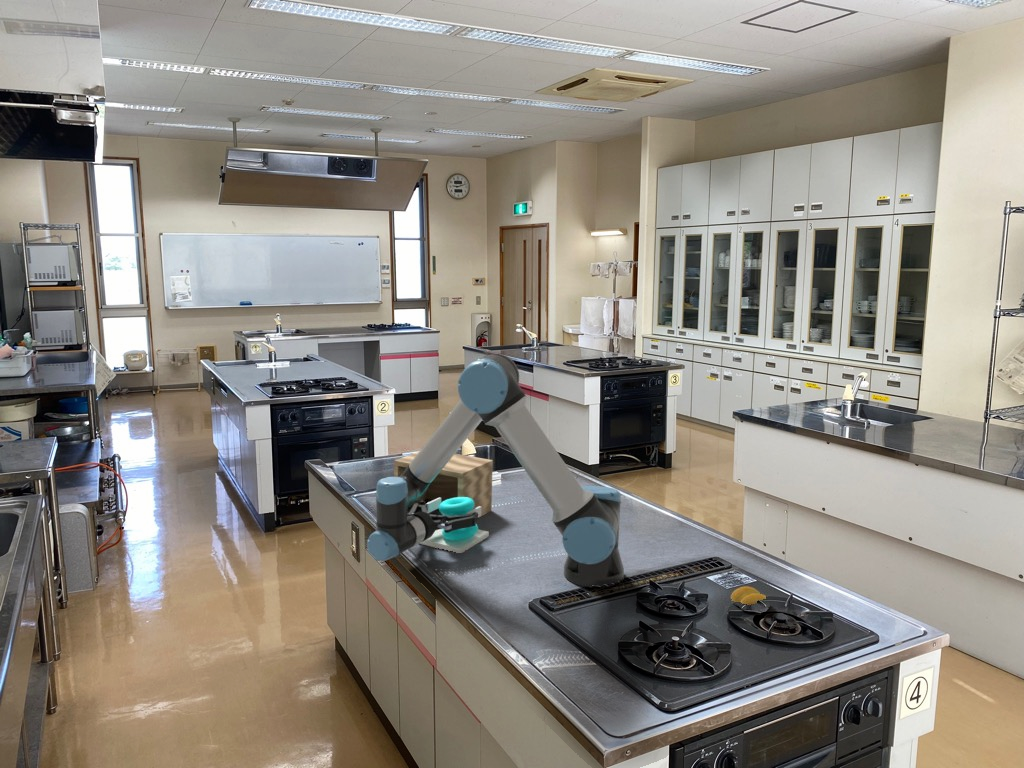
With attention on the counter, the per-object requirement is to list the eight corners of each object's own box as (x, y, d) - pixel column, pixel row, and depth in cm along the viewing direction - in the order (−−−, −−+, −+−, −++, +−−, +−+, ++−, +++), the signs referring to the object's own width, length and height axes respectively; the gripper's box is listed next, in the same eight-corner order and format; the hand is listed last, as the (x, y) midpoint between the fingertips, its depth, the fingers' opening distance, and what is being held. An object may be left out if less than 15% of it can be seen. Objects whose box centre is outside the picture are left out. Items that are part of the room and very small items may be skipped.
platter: (460, 554, 199) (460, 548, 199) (417, 543, 206) (417, 538, 206) (488, 536, 212) (488, 531, 212) (447, 527, 219) (447, 522, 219)
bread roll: (749, 617, 169) (751, 601, 168) (725, 600, 177) (726, 584, 176) (778, 612, 171) (780, 596, 171) (753, 595, 180) (754, 580, 179)
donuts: (479, 495, 208) (463, 506, 199) (484, 529, 209) (468, 542, 200) (449, 495, 212) (431, 506, 203) (454, 529, 213) (436, 541, 204)
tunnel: (461, 527, 219) (462, 473, 216) (394, 511, 231) (394, 460, 228) (491, 510, 234) (492, 460, 231) (426, 496, 246) (427, 448, 243)
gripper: (377, 533, 199) (424, 510, 217) (455, 553, 187) (497, 527, 205) (377, 506, 197) (424, 486, 216) (455, 524, 185) (498, 501, 204)
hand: (460, 506), depth 210 cm, fingers open, 13 cm apart
